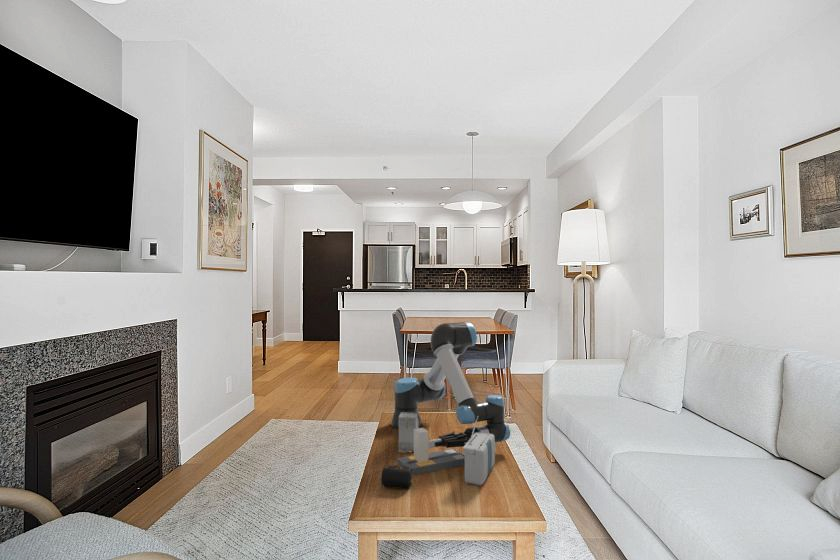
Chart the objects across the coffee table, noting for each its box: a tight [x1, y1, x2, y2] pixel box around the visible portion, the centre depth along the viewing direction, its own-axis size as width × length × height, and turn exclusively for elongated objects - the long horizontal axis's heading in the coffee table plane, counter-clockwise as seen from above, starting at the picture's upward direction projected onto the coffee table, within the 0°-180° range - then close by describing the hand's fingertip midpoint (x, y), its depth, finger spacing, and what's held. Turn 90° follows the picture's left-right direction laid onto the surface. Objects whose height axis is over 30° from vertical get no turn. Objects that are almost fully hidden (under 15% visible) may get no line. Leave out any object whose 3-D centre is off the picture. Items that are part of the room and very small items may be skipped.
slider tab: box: [413, 427, 429, 463], centre depth 191 cm, size 5×4×12 cm
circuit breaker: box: [398, 412, 420, 453], centre depth 214 cm, size 8×14×15 cm, turn 174°
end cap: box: [380, 465, 413, 490], centre depth 172 cm, size 10×7×7 cm
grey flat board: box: [396, 448, 465, 476], centre depth 193 cm, size 12×26×3 cm, turn 116°
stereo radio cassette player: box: [461, 416, 496, 487], centre depth 183 cm, size 21×8×20 cm, turn 160°
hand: (426, 444), depth 192 cm, fingers closed
